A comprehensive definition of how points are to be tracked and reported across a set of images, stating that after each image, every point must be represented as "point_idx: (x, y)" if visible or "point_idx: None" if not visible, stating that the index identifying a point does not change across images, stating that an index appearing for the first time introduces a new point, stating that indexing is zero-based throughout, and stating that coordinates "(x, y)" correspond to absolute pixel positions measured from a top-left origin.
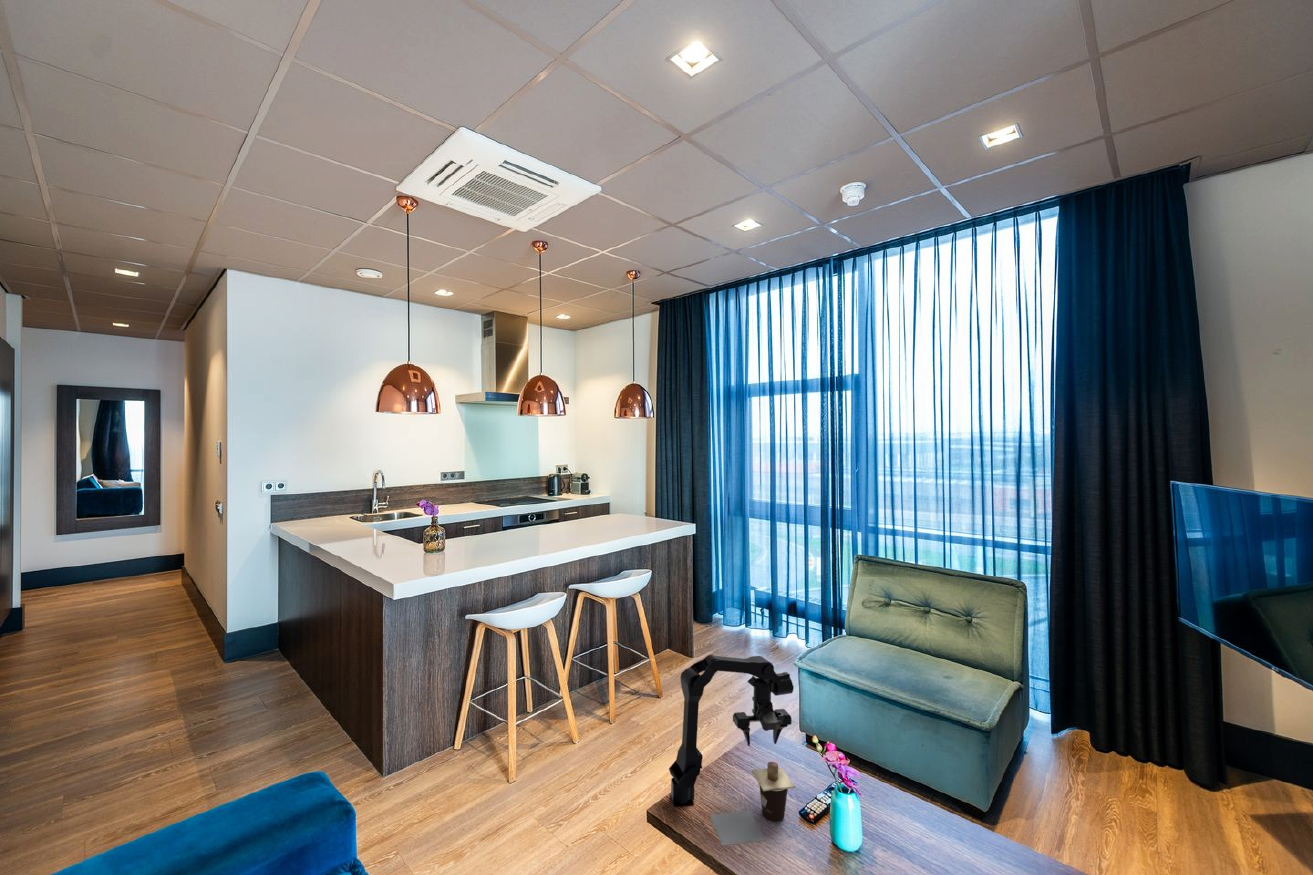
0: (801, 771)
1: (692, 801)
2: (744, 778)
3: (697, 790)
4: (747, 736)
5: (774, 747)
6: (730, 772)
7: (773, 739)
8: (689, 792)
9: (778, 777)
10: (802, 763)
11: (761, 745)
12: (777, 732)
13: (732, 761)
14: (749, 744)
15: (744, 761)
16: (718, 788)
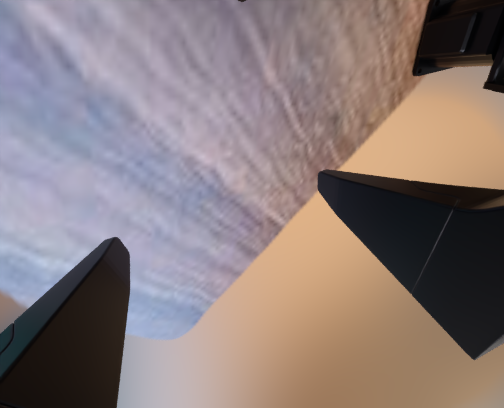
0: (41, 232)
1: (431, 15)
2: (248, 164)
3: (385, 92)
4: (415, 185)
5: (150, 308)
6: (281, 187)
7: (128, 272)
8: (477, 3)
9: None
10: (46, 272)
11: (185, 304)
12: (19, 346)
13: (265, 232)
14: (329, 173)
15: (236, 238)
16: (332, 105)
